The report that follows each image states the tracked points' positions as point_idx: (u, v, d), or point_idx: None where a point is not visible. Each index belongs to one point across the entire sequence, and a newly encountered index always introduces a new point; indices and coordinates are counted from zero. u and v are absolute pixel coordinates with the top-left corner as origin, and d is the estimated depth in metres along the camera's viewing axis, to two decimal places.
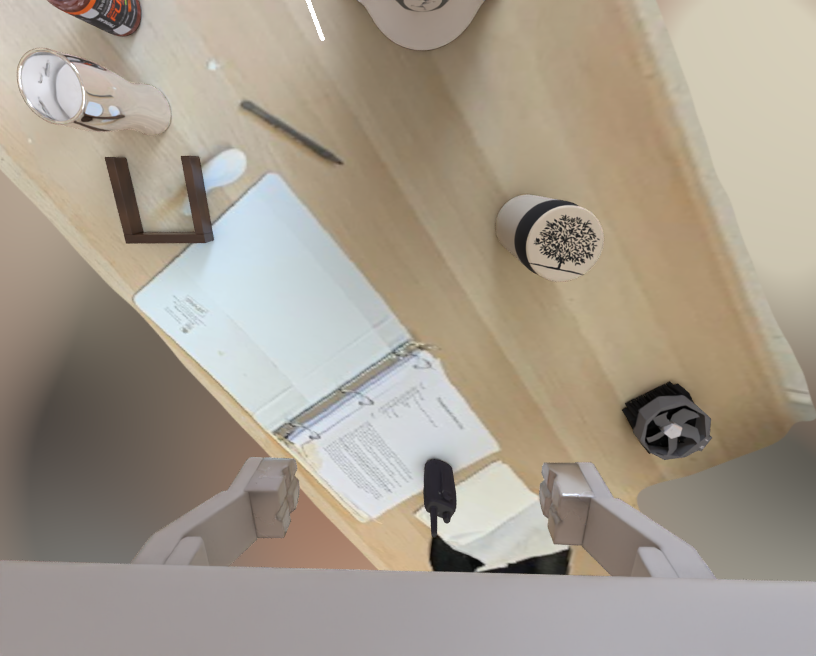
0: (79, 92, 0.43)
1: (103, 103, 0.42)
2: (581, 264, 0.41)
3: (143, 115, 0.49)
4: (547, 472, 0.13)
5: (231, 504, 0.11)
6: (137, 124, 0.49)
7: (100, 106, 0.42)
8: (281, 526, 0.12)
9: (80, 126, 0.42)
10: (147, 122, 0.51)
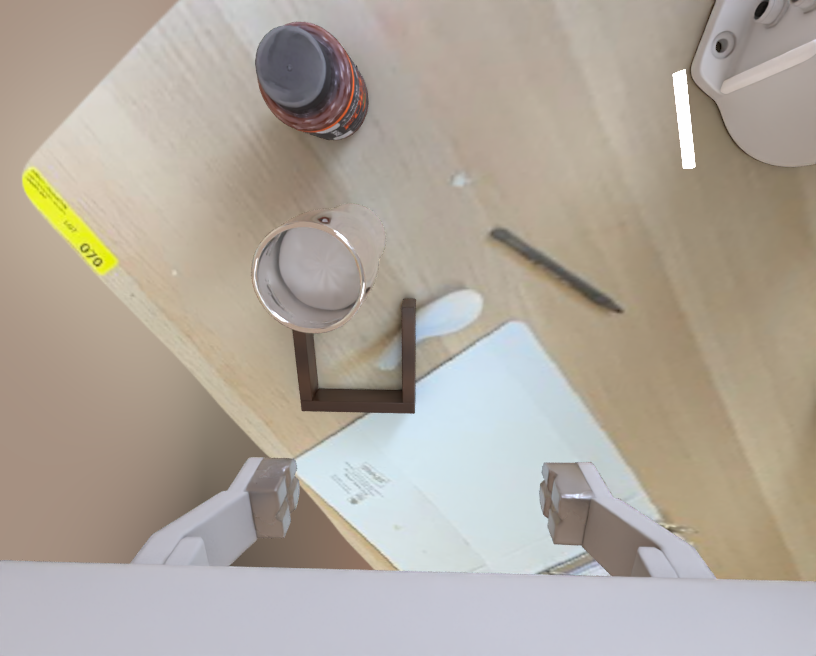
0: (319, 261, 0.27)
1: (370, 288, 0.26)
2: None
3: None
4: (547, 472, 0.13)
5: (231, 504, 0.11)
6: None
7: (367, 295, 0.25)
8: (281, 526, 0.12)
9: None
10: None
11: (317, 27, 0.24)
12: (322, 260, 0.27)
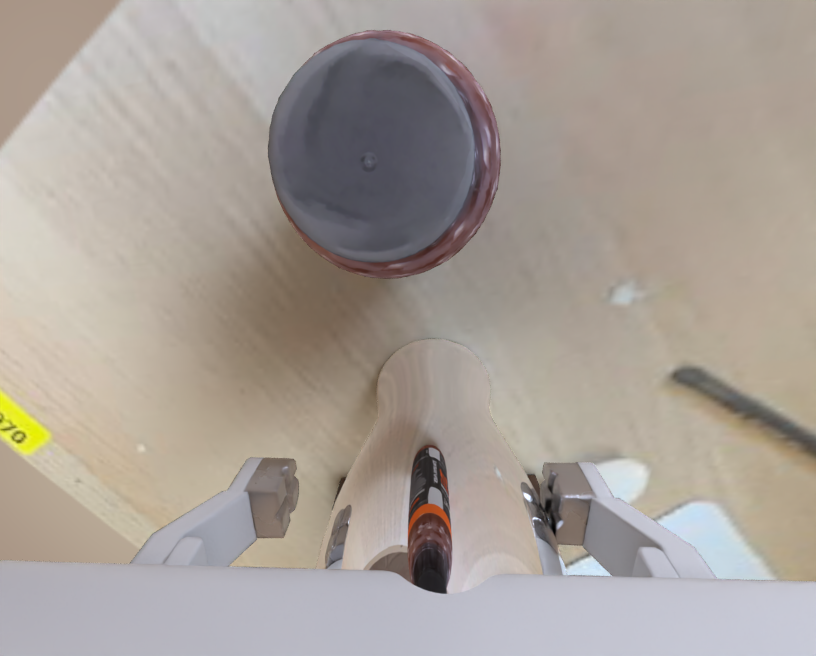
0: None
1: None
2: None
3: None
4: (548, 472, 0.13)
5: (231, 504, 0.11)
6: None
7: None
8: (281, 526, 0.12)
9: None
10: None
11: (424, 41, 0.09)
12: None
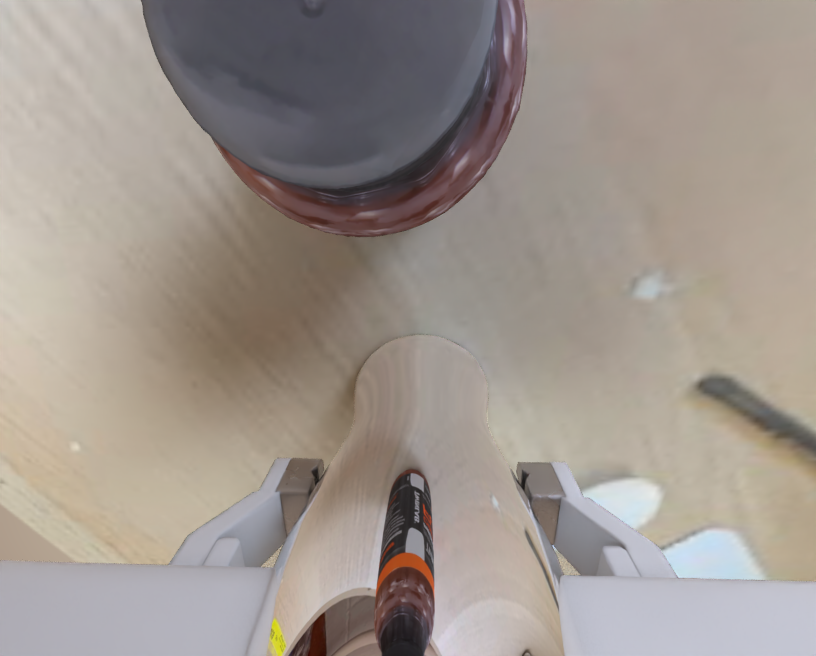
0: None
1: None
2: None
3: None
4: (520, 472, 0.13)
5: (263, 504, 0.11)
6: None
7: None
8: None
9: None
10: None
11: None
12: None
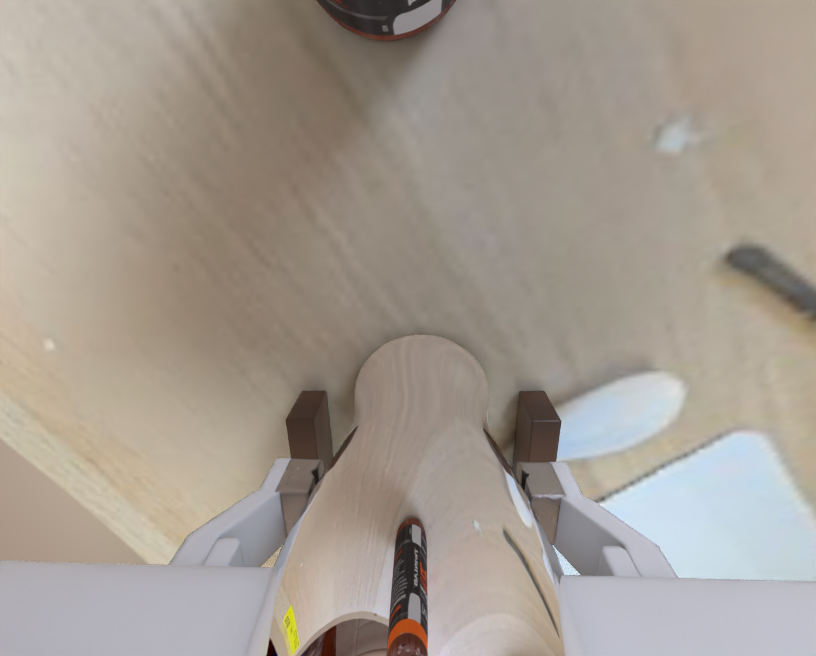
0: None
1: None
2: None
3: None
4: (521, 471, 0.13)
5: (263, 504, 0.11)
6: None
7: None
8: None
9: None
10: None
11: None
12: None
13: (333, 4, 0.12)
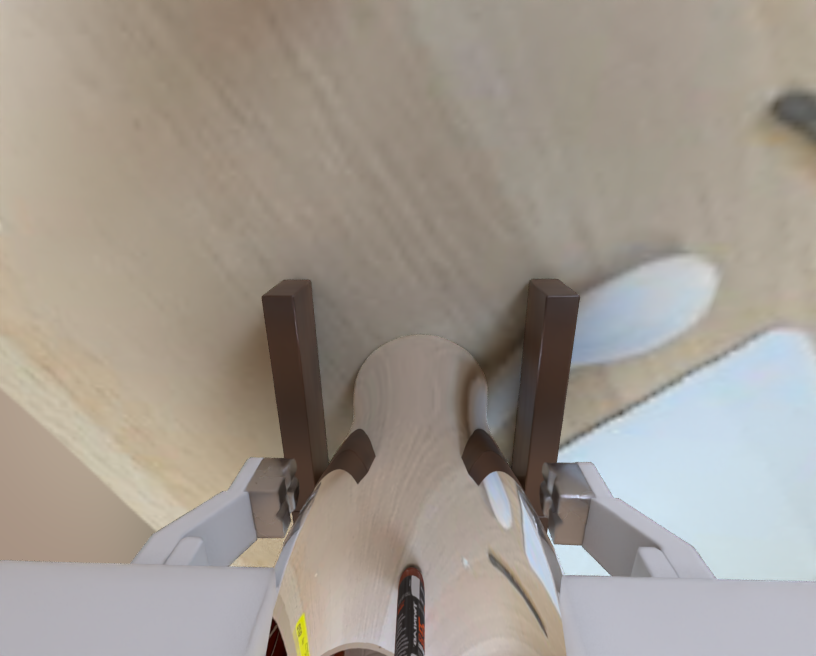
0: None
1: None
2: None
3: None
4: (547, 472, 0.13)
5: (231, 504, 0.11)
6: None
7: None
8: (281, 526, 0.12)
9: None
10: None
11: None
12: None
13: None
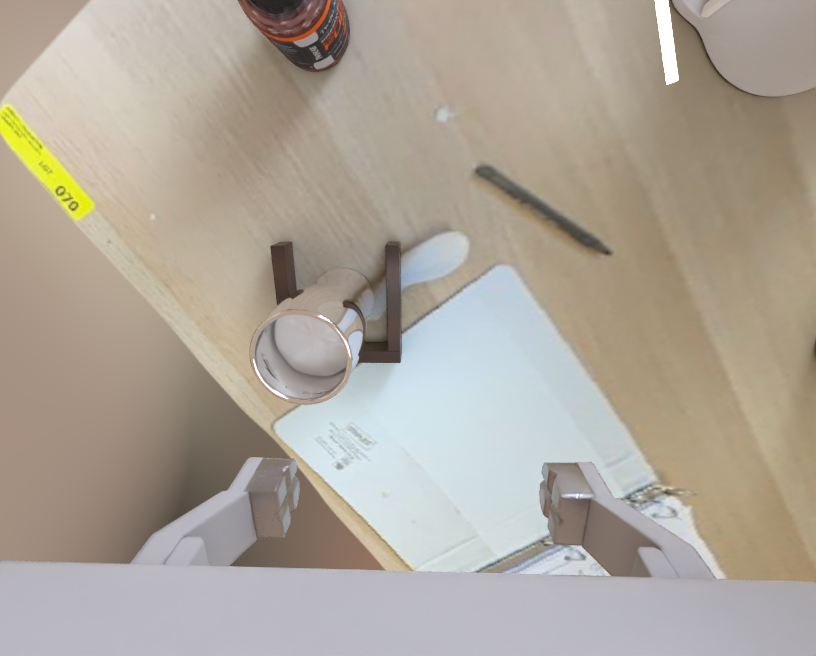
0: (311, 335, 0.29)
1: (357, 361, 0.28)
2: None
3: None
4: (547, 472, 0.13)
5: (231, 504, 0.11)
6: None
7: (354, 367, 0.28)
8: (281, 526, 0.12)
9: None
10: None
11: None
12: (314, 333, 0.29)
13: (289, 58, 0.31)
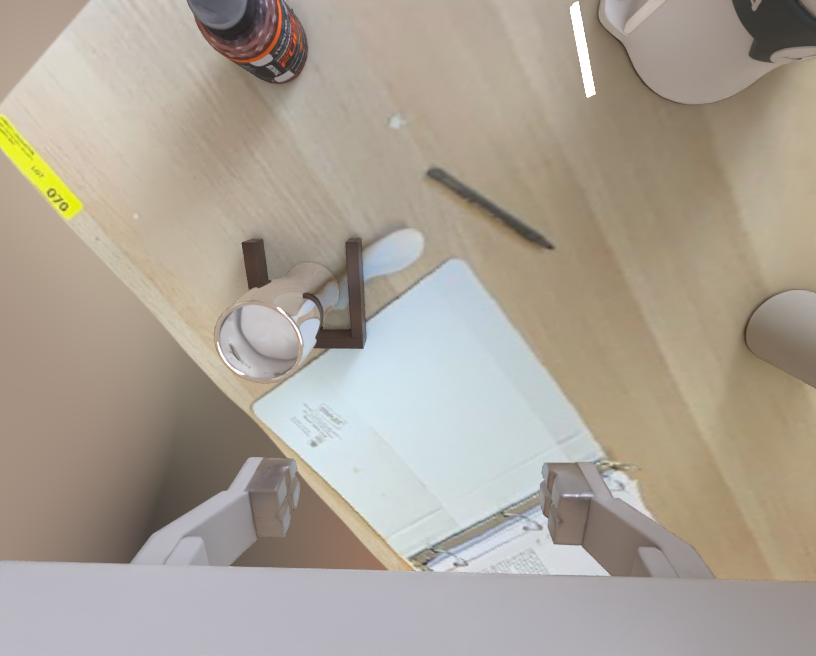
0: (272, 322, 0.33)
1: (311, 345, 0.32)
2: None
3: None
4: (547, 472, 0.13)
5: (231, 504, 0.11)
6: None
7: (308, 351, 0.32)
8: (281, 526, 0.12)
9: None
10: None
11: None
12: (274, 321, 0.33)
13: None
